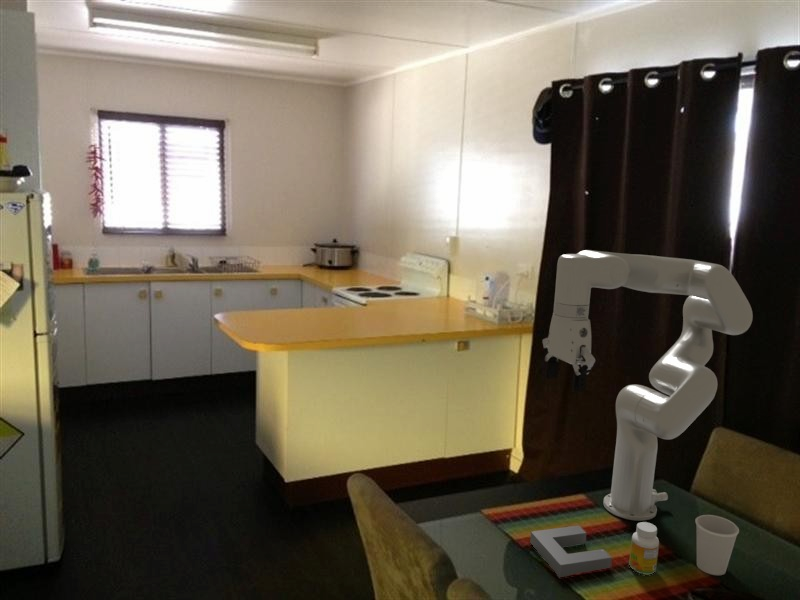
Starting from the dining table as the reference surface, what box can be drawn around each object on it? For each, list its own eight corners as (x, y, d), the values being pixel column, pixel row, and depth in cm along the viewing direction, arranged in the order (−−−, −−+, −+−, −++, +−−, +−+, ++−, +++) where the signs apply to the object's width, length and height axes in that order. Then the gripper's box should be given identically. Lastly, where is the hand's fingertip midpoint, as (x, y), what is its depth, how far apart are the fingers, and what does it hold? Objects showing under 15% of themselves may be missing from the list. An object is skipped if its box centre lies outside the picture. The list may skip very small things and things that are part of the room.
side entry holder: (577, 537, 151) (578, 525, 151) (610, 570, 139) (611, 557, 139) (530, 543, 148) (531, 531, 148) (559, 578, 136) (560, 565, 135)
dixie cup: (711, 553, 147) (717, 512, 145) (742, 575, 139) (748, 532, 137) (681, 559, 144) (686, 517, 142) (710, 582, 136) (716, 537, 135)
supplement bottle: (624, 561, 143) (629, 520, 141) (648, 561, 143) (653, 519, 141) (635, 576, 137) (640, 533, 136) (660, 576, 138) (665, 533, 136)
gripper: (611, 317, 140) (603, 395, 144) (560, 302, 156) (554, 371, 159) (582, 320, 137) (575, 398, 141) (534, 303, 153) (528, 374, 156)
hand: (564, 384), depth 150 cm, fingers open, 9 cm apart
